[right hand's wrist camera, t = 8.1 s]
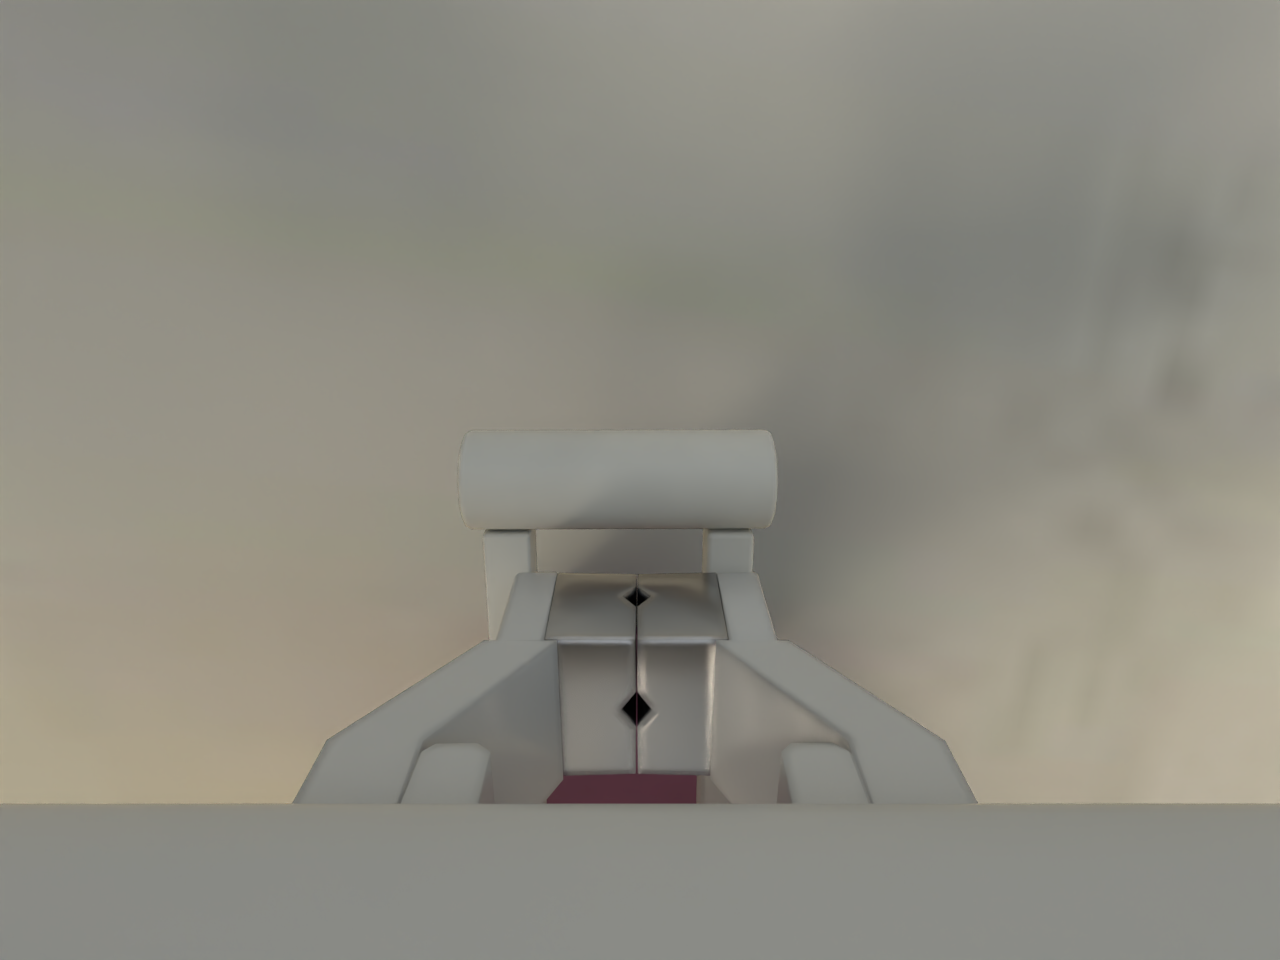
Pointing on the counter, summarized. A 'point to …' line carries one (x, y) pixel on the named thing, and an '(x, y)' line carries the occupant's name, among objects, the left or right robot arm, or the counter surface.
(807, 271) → the counter surface
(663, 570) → the counter surface
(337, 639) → the counter surface
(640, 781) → the drawer
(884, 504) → the counter surface
